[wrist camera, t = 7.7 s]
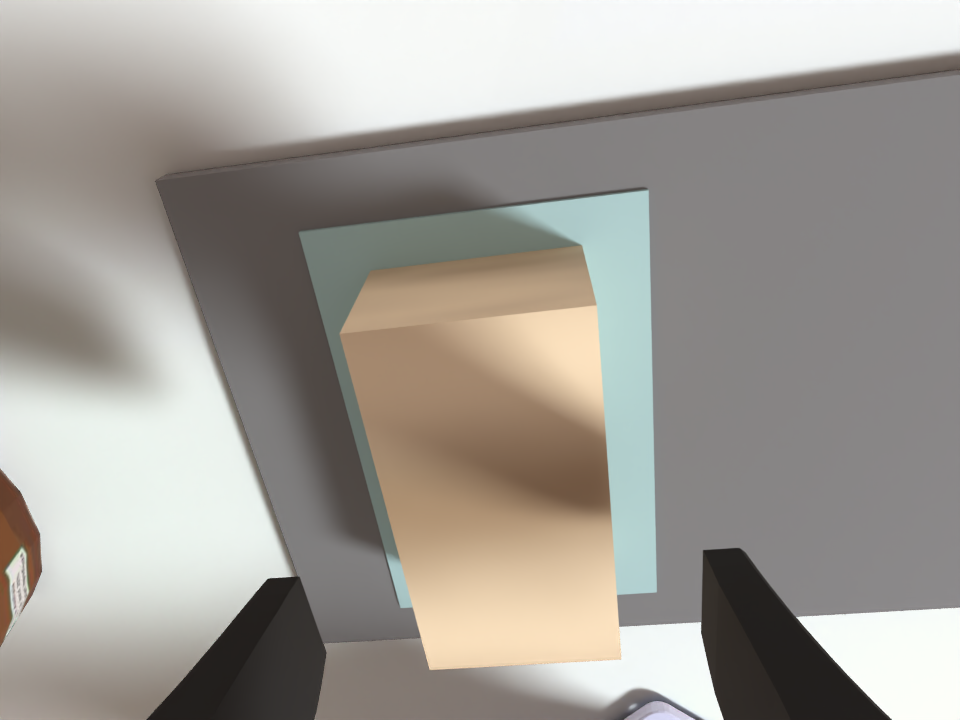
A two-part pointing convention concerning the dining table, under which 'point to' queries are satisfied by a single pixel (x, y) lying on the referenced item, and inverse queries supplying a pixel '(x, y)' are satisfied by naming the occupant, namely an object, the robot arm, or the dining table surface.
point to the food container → (16, 555)
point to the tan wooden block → (492, 453)
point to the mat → (636, 335)
